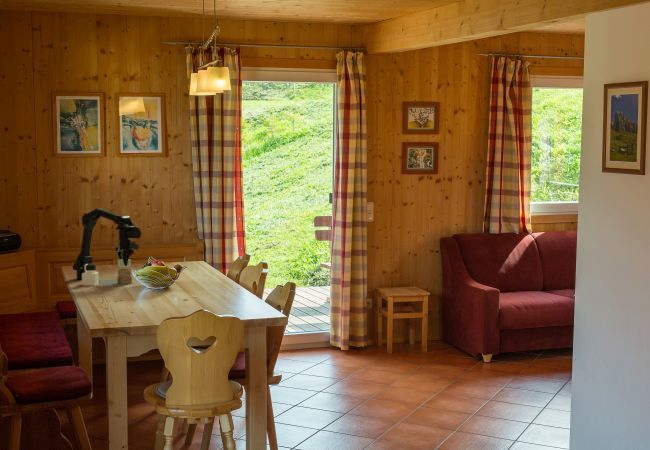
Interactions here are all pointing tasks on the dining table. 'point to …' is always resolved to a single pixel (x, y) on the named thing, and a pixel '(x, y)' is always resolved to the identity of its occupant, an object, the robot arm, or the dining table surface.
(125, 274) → the tower top
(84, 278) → the medicine bottle
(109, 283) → the mat
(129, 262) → the sage block
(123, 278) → the tower base
